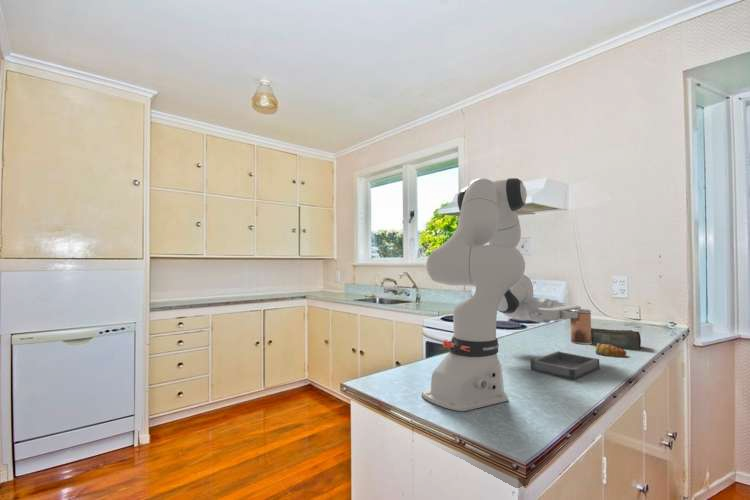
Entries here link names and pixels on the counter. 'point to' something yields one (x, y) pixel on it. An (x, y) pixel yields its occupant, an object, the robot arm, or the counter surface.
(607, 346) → the pastry
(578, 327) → the tin can
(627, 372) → the counter surface
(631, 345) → the beverage carton
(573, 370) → the tray
